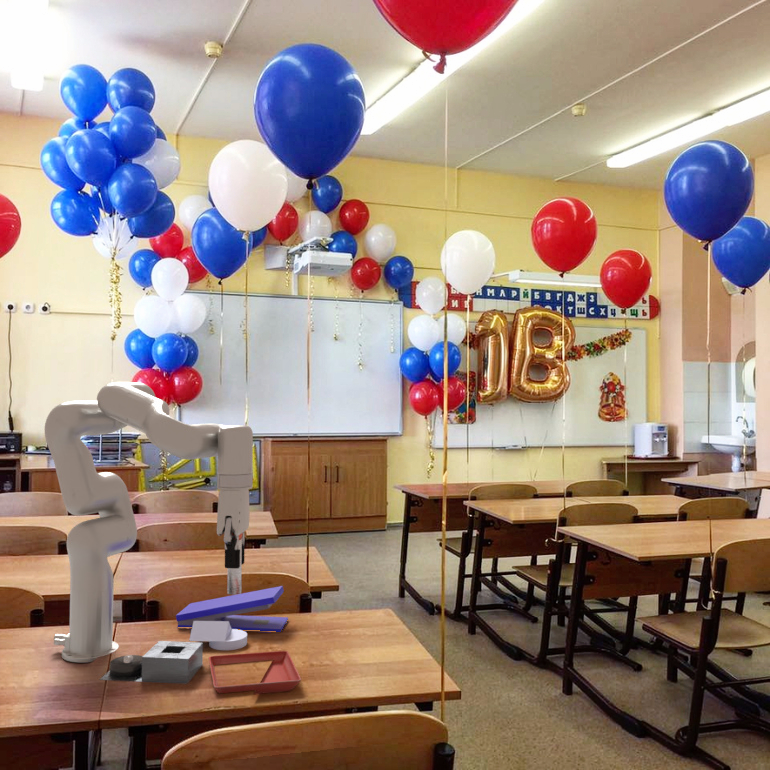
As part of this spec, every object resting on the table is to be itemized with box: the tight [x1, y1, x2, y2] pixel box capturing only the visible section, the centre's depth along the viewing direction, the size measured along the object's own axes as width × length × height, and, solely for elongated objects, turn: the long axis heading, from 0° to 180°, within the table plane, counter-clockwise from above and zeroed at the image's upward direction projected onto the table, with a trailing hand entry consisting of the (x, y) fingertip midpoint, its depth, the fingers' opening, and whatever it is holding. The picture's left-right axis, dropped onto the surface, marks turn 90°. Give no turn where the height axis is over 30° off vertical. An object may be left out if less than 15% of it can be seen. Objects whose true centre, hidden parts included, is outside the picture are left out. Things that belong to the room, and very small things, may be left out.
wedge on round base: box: [188, 621, 248, 651], centre depth 180 cm, size 9×7×13 cm
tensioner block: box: [98, 640, 204, 685], centre depth 161 cm, size 19×11×6 cm, turn 87°
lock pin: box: [226, 533, 243, 596], centre depth 161 cm, size 3×3×13 cm
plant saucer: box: [208, 650, 302, 695], centre depth 161 cm, size 18×18×3 cm
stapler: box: [175, 585, 289, 633], centre depth 198 cm, size 12×28×10 cm, turn 86°
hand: (234, 565), depth 161 cm, fingers closed on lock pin, 3 cm apart
